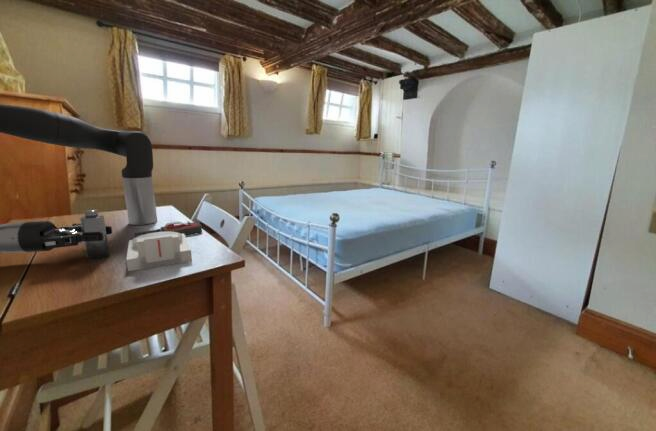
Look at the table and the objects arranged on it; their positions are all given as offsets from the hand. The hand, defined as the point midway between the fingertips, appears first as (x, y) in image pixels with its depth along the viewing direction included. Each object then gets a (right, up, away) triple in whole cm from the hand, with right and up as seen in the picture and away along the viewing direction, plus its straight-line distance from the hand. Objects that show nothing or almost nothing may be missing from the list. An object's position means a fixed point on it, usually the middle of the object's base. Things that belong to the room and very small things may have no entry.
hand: (106, 232), depth 77 cm
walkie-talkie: (+6, -2, +21) cm, 22 cm away
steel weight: (-3, -6, +1) cm, 7 cm away
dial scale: (+12, -6, +3) cm, 14 cm away
